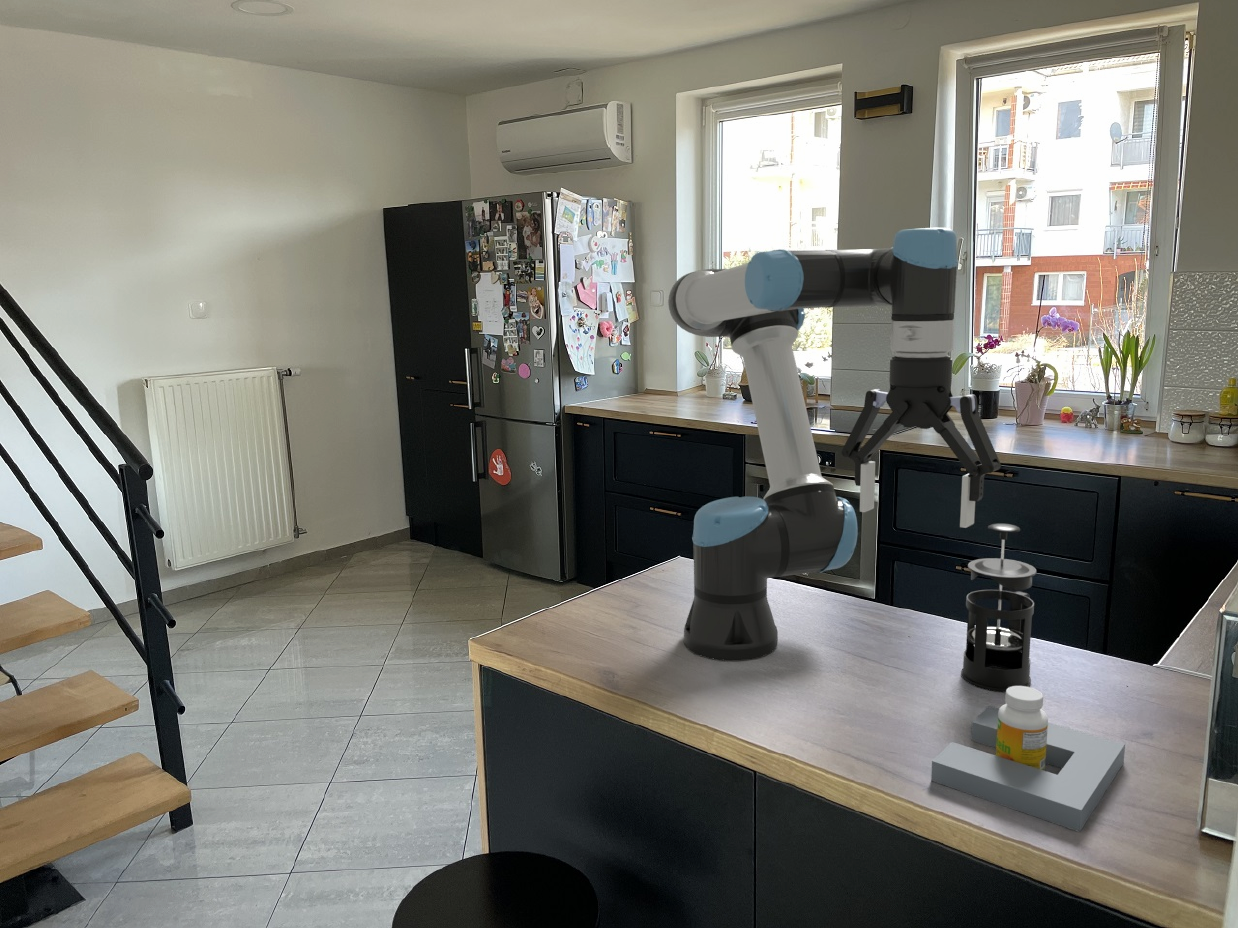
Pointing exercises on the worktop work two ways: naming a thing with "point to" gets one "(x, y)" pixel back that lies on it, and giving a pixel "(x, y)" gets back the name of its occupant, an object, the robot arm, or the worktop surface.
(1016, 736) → the supplement bottle
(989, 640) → the french press
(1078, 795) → the notched board
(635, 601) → the worktop surface
